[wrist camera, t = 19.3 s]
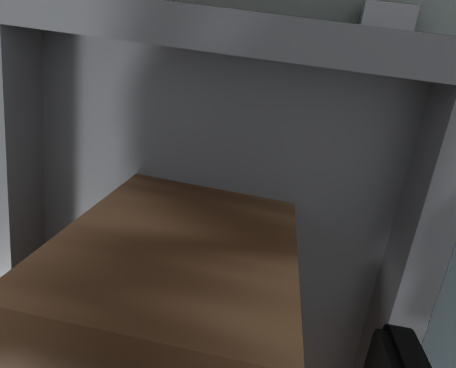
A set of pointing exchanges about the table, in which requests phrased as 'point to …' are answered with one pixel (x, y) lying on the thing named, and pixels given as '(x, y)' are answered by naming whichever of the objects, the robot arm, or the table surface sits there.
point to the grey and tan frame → (243, 141)
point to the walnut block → (160, 284)
